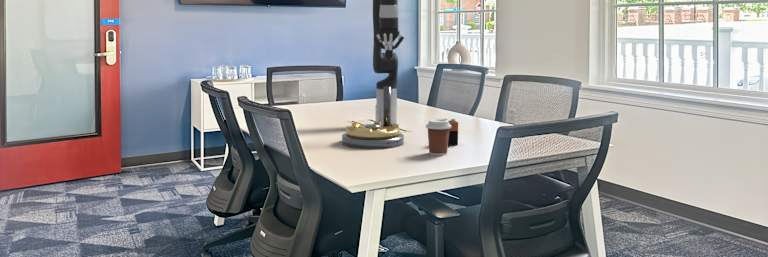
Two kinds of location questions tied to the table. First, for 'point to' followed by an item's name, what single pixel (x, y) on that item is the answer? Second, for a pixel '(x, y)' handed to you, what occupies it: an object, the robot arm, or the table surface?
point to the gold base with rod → (376, 124)
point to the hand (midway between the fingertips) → (389, 59)
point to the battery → (453, 132)
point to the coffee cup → (438, 136)
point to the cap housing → (373, 142)
